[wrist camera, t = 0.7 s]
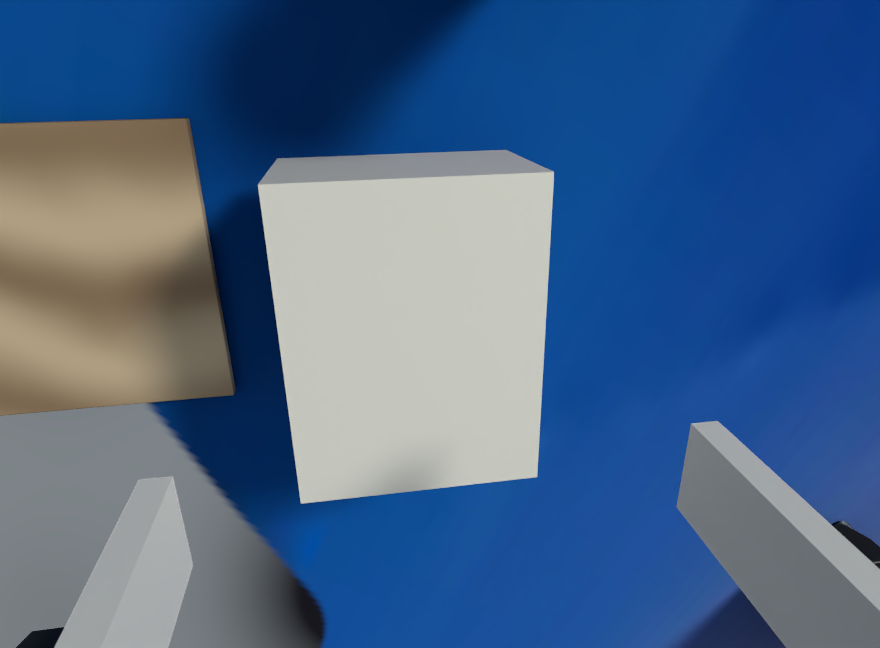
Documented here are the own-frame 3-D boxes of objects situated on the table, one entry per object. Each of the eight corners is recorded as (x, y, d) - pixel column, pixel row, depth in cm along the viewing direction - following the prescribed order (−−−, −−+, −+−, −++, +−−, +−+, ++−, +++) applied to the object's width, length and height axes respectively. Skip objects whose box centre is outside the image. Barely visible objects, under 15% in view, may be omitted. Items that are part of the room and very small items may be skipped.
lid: (277, 158, 25) (257, 184, 19) (506, 149, 27) (554, 171, 21) (308, 418, 30) (300, 503, 24) (499, 400, 32) (537, 476, 26)
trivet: (-158, 127, 25) (-170, 128, 25) (189, 118, 27) (186, 118, 26) (-47, 414, 31) (-54, 420, 30) (235, 389, 32) (233, 395, 32)
